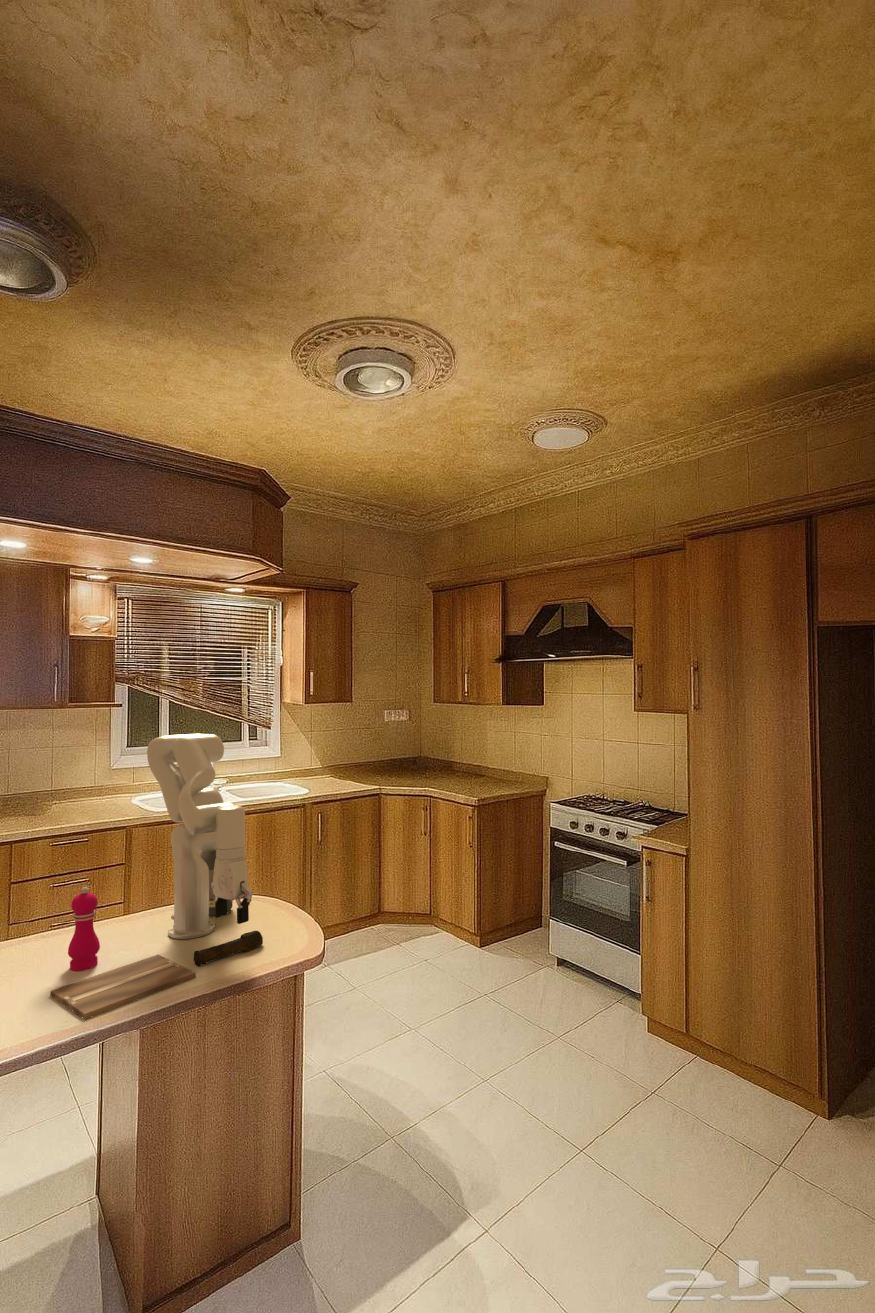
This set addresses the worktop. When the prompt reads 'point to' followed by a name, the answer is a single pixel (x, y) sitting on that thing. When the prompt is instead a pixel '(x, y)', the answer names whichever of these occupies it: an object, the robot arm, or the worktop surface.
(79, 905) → the pepper mill
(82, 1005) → the board
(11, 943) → the worktop surface
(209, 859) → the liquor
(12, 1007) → the worktop surface
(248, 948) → the hand tool
